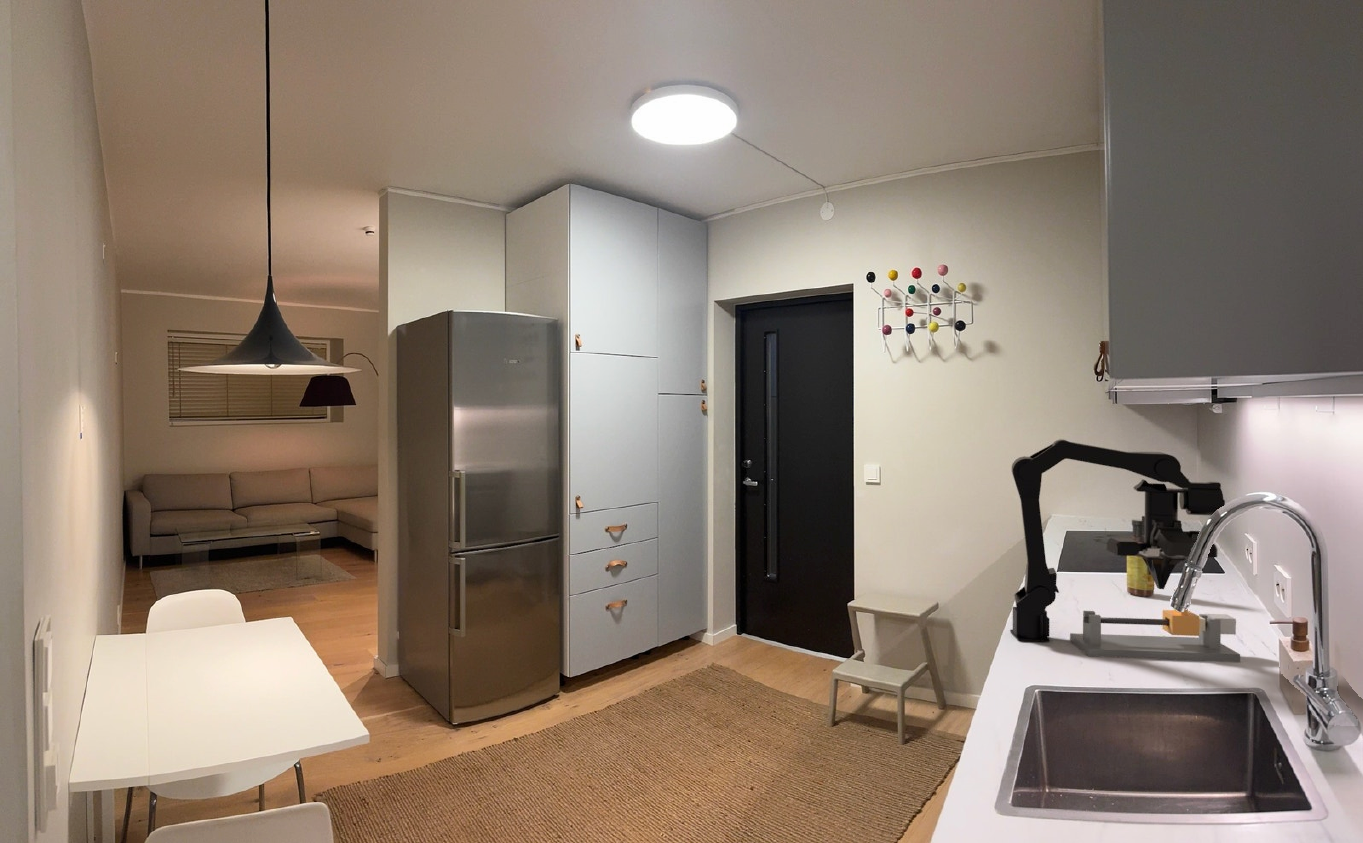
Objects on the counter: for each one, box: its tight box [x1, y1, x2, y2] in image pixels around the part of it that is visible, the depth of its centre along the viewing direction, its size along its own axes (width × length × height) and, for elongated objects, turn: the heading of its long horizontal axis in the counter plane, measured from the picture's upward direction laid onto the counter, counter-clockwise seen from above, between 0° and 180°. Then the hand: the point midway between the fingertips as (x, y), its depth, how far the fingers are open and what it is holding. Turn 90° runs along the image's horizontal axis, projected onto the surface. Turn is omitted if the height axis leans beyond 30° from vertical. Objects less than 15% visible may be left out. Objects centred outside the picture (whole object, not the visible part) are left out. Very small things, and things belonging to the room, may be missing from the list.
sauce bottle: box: [1126, 518, 1155, 597], centre depth 194 cm, size 7×6×20 cm
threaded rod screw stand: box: [1069, 610, 1241, 663], centre depth 151 cm, size 29×10×8 cm, turn 81°
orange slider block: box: [1161, 589, 1199, 637], centre depth 151 cm, size 5×4×8 cm
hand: (1160, 588), depth 151 cm, fingers closed
